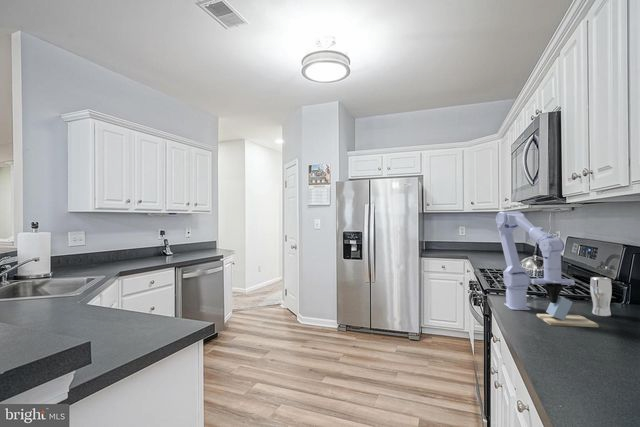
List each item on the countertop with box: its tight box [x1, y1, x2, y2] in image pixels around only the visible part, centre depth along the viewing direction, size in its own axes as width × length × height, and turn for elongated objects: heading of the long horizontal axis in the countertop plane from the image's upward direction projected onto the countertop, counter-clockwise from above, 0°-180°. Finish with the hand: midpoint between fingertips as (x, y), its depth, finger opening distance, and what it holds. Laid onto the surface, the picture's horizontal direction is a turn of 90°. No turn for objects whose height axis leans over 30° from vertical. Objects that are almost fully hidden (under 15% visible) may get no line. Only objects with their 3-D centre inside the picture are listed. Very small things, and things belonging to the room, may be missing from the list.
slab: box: [545, 295, 573, 321], centre depth 132 cm, size 6×4×8 cm, turn 169°
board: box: [536, 313, 600, 328], centre depth 131 cm, size 12×16×1 cm
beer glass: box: [589, 276, 613, 317], centre depth 139 cm, size 7×7×15 cm
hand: (553, 302), depth 132 cm, fingers closed
